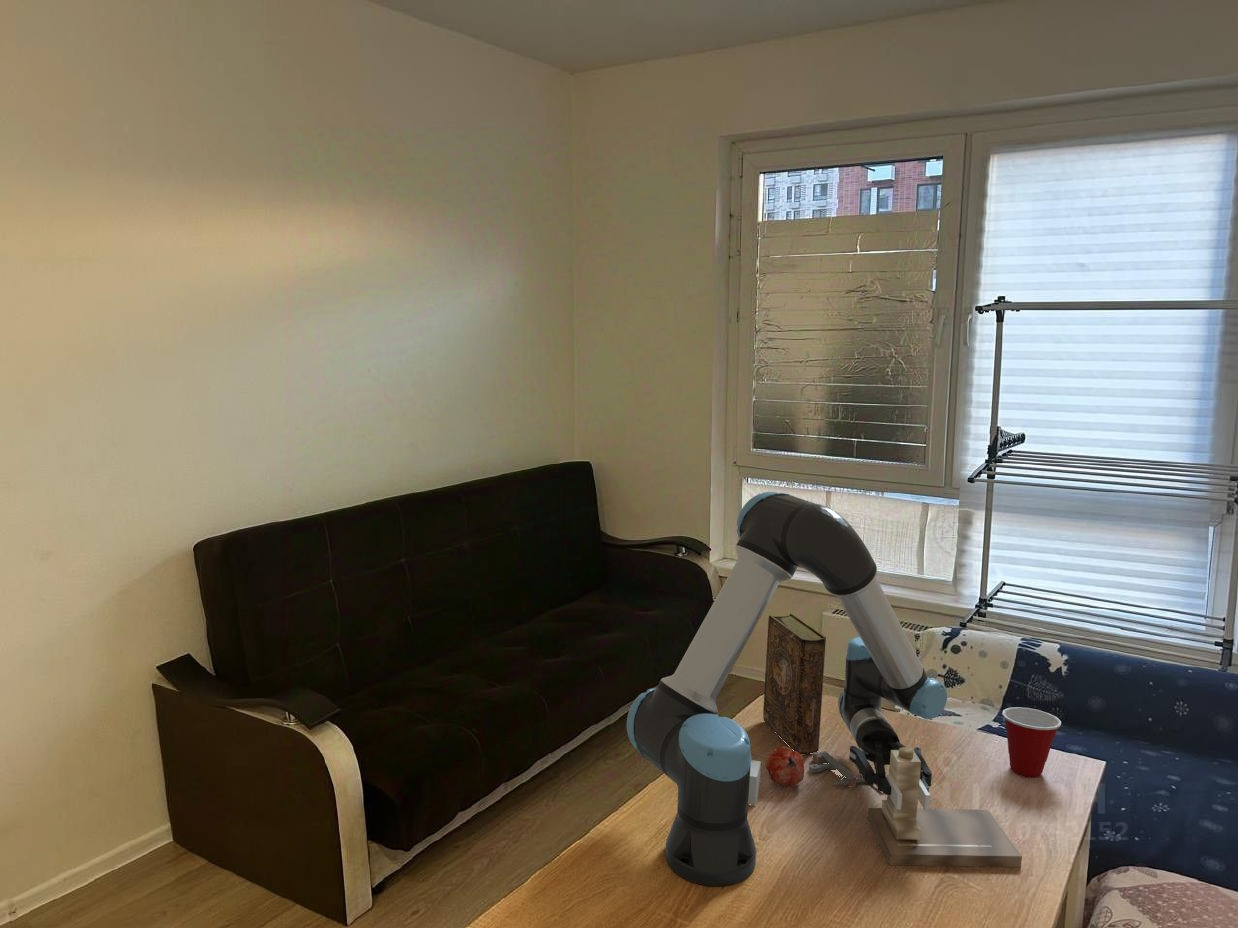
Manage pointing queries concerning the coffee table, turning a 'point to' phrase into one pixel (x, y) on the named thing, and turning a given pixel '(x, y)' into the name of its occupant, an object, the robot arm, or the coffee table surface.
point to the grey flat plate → (948, 840)
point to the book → (794, 682)
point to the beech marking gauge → (904, 794)
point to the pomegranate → (785, 766)
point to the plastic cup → (1029, 739)
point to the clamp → (833, 765)
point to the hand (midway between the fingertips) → (913, 802)
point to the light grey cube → (754, 781)
